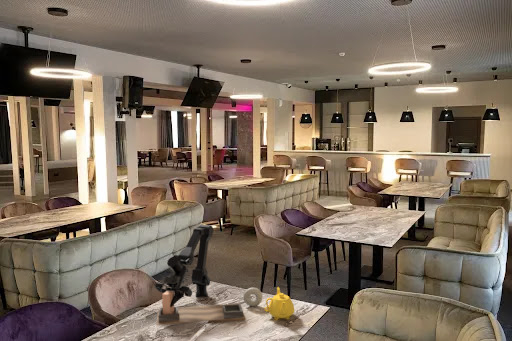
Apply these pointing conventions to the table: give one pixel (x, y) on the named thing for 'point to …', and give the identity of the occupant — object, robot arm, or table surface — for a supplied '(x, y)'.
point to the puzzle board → (203, 314)
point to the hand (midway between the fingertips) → (166, 306)
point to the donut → (250, 301)
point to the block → (167, 302)
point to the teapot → (280, 306)
